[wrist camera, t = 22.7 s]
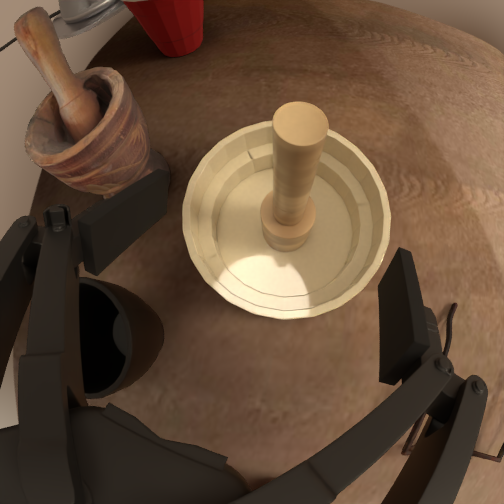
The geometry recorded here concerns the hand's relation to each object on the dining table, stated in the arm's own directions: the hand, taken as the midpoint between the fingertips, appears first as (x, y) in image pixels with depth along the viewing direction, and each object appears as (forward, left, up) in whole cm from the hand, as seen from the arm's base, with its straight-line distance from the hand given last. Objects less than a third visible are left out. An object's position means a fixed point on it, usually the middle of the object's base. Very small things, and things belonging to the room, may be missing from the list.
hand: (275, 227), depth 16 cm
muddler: (0, +3, -10) cm, 11 cm away
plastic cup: (-23, +21, -11) cm, 33 cm away
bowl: (0, +3, -11) cm, 11 cm away
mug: (-9, -13, -11) cm, 20 cm away
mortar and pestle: (-17, +2, -11) cm, 21 cm away
